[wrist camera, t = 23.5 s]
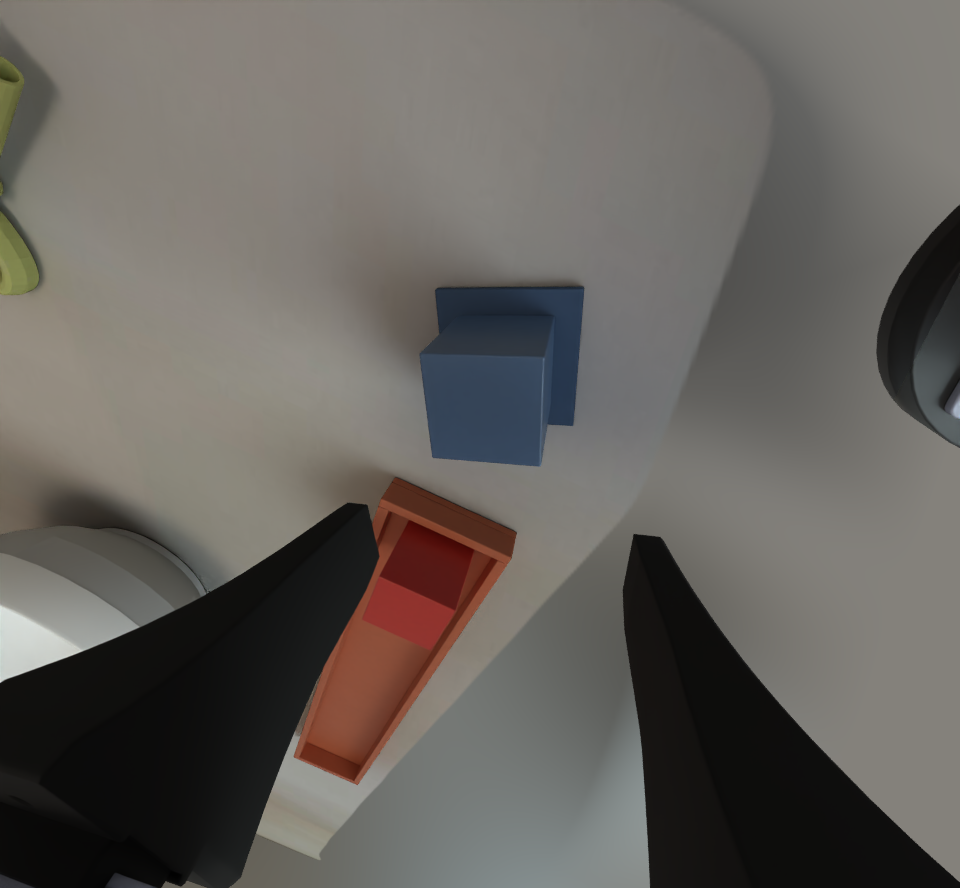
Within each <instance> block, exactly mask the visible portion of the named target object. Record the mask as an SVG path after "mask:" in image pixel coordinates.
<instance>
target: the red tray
mask: <svg viewBox="0 0 960 888" xmlns="http://www.w3.org/2000/svg"><path fill="white" fill-rule="evenodd" d="M409 520H411V521H413V522H415V523H418V524H420V525H422V526H424V527H426V528H429V529H431V530H433V531H435V532H437V533H440V534H442V535H444V536H446V537H448V538H450V539H453V540H455V541H457V542H459V543H461V544H464V545H466V546H468V547H470V548H472V549H475V550H474V554H473V557H472V560H471V563H470V567H469V570H468V573H467V576H466V580H465V583H464V586H463V589H462V593H461V596H460V599H459V602H458V606H457V609H456V611H455V613H454V615H453V616H452V618H451V619H450V621H449V623H448V624H447V626H446V627H445V629H444V631H443V632H442V634H441V635H440V637H439V639H438V640H437V642H436V643H435V645H434V646H433V648H432V650H428V649H426V648H424V647H421V646H419V645H417V644H415V643H412V642H410V641H408V640H406V639H404V638H401V637H399V636H397V635H395V634H392V633H390V632H388V631H386V630H383V629H381V628H379V627H377V626H374V625H372V624H370V623H368V622H366V621H363V620H362V617H363V615H364V612H365V610H366V607H367V605H368V602H369V600H370V597H371V595H372V592H373V590H374V587H375V585H376V582H377V579H378V577H379V575H380V573H381V571H382V569H383V567H384V566H385V564H386V562H387V560H388V558H389V556H390V554H391V553H392V551H393V549H394V547H395V545H396V543H397V541H398V540H399V538H400V536H401V534H402V532H403V530H404V528H405V527H406V525H407V523H408V521H409ZM372 526H373V531H374V535H375V539H376V543H377V547H378V551H379V556H380V557H379V560H378V562H377V565H376V568H375V570H374V573H373V575H372V578H371V580H370V583H369V585H368V587H367V590H366V592H365V593H364V595H363V597H362V599H361V601H360V603H359V604H358V606H357V608H356V610H355V612H354V614H353V615H352V617H351V619H350V621H349V623H348V624H347V626H346V628H345V630H344V631H343V633H342V635H341V637H340V639H339V640H338V642H337V644H336V646H335V648H334V649H333V651H332V653H331V655H330V656H329V658H328V660H327V662H326V664H325V666H324V668H323V671H322V674H321V677H320V680H319V683H318V686H317V689H316V692H315V695H314V698H313V701H312V704H311V707H310V710H309V713H308V716H307V719H306V721H305V724H304V727H303V730H302V733H301V736H300V739H299V742H298V745H297V748H296V751H295V754H294V758H297V759H299V760H301V761H304V762H306V763H308V764H311V765H313V766H315V767H317V768H320V769H322V770H324V771H327V772H329V773H331V774H333V775H336V776H338V777H340V778H343V779H345V780H347V781H349V782H352V783H354V784H356V785H358V784H359V782H360V781H361V779H362V778H363V776H364V775H365V774H366V772H367V771H368V769H369V768H370V766H371V765H372V763H373V762H374V760H375V759H376V757H377V756H378V754H379V753H380V751H381V750H382V748H383V747H384V746H385V744H386V743H387V741H388V740H389V738H390V737H391V735H392V734H393V732H394V731H395V729H396V728H397V726H398V725H399V723H400V722H401V720H402V719H403V718H404V716H405V715H406V713H407V712H408V710H409V709H410V707H411V706H412V704H413V703H414V701H415V700H416V698H417V697H418V695H419V694H420V692H421V691H422V690H423V688H424V687H425V685H426V684H427V682H428V681H429V679H430V678H431V676H432V675H433V673H434V672H435V670H436V669H437V667H438V666H439V665H440V663H441V662H442V660H443V659H444V657H445V656H446V654H447V653H448V651H449V650H450V648H451V647H452V645H453V644H454V642H455V641H456V639H457V638H458V637H459V635H460V634H461V632H462V631H463V629H464V628H465V626H466V625H467V623H468V622H469V620H470V619H471V617H472V616H473V614H474V613H475V611H476V610H477V609H478V607H479V606H480V604H481V603H482V601H483V600H484V598H485V597H486V595H487V594H488V592H489V591H490V589H491V588H492V586H493V585H494V583H495V582H496V581H497V579H498V578H499V576H500V575H501V573H502V572H503V570H504V569H505V567H506V566H507V564H508V563H509V561H510V560H511V558H512V554H513V549H514V544H515V539H516V534H517V533H516V532H514V531H512V530H510V529H508V528H505V527H503V526H501V525H499V524H497V523H494V522H492V521H490V520H488V519H486V518H484V517H481V516H479V515H477V514H475V513H473V512H470V511H468V510H466V509H464V508H462V507H460V506H457V505H455V504H453V503H451V502H449V501H446V500H444V499H442V498H440V497H438V496H436V495H433V494H431V493H429V492H427V491H425V490H422V489H420V488H418V487H416V486H414V485H412V484H409V483H407V482H405V481H403V480H401V479H398V478H394V480H393V481H392V483H391V485H390V486H389V488H388V489H387V491H386V492H385V494H384V495H383V497H382V498H381V500H380V503H379V506H378V509H377V512H376V515H375V518H374V521H373V524H372Z"/></svg>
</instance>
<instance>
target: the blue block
mask: <svg viewBox="0 0 960 888" xmlns="http://www.w3.org/2000/svg"><path fill="white" fill-rule="evenodd" d="M554 324H555V317H554V316H526V315H459V316H458V317H457V318H456V319H455V320H454V321H453V322H452V323H451V324H450V325H448V326H447V327H446V328H445V329H444V330H443V331H442V332H441V333H440V334H439V335H438V336H437V337H436V338H435V339H434V340H433V341H432V342H431V343H430V344H429V345H428V346H427V347H426V348H425V349H424V350H423V351H422V352H421V353H420V363H421V371H422V379H423V387H424V395H425V403H426V411H427V419H428V427H429V434H430V442H431V450H432V457H433V458H442V459H454V460H466V461H478V462H491V463H503V464H515V465H527V466H541V462H542V456H543V450H544V444H545V437H546V431H547V425H548V419H549V412H550V406H551V388H552V367H553V346H554Z"/></svg>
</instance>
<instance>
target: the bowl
mask: <svg viewBox="0 0 960 888" xmlns="http://www.w3.org/2000/svg"><path fill="white" fill-rule="evenodd" d="M204 595H206V592H205V590H204V588H203V586H202V584H201V583H200V581H199V580H198V578H197V577H196V576H195V574H194V573H193V572H192V571H191V570H190V569H189V568H188V567H187V566H186V565H185V564H184V563H183V562H182V561H181V560H180V559H179V558H177V557H176V556H175V555H174V554H172V553H171V552H169V551H168V550H167V549H165V548H164V547H162V546H160V545H159V544H157V543H155V542H154V541H152V540H150V539H148V538H146V537H143V536H141V535H139V534H136V533H133V532H130V531H127V530H123V529H118V528H103V529H98V530H96V529H90V528H84V527H79V526H54V527H45V528H37V529H29V530H20V531H14V532H9V533H5V534H2V535H0V683H1V682H2V681H4V680H5V679H8V678H11V677H14V676H17V675H20V674H22V673H25V672H28V671H31V670H33V669H36V668H39V667H42V666H44V665H47V664H50V663H53V662H55V661H58V660H61V659H63V658H66V657H69V656H72V655H74V654H77V653H79V652H82V651H84V650H87V649H89V648H92V647H94V646H97V645H99V644H102V643H104V642H106V641H109V640H111V639H114V638H116V637H118V636H121V635H123V634H125V633H128V632H130V631H132V630H134V629H137V628H139V627H141V626H143V625H146V624H148V623H150V622H152V621H154V620H156V619H158V618H160V617H162V616H164V615H166V614H168V613H170V612H172V611H174V610H176V609H179V608H181V607H183V606H185V605H187V604H189V603H191V602H193V601H195V600H197V599H198V598H200V597H202V596H204Z"/></svg>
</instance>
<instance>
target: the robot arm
mask: <svg viewBox="0 0 960 888" xmlns="http://www.w3.org/2000/svg"><path fill="white" fill-rule="evenodd" d="M945 411H946V412H947V413H948V414H949V415H951V416H953V417H954V418H958V419H960V380H959V382H958V384H957V385H956V387H955V389H954V391H953V392H952V394H951V396H950V397H949V399H948V401H947V402H946V405H945ZM379 557H380V556H379V551H378V547H377V543H376V539H375V535H374V531H373V526H372V522H371V518H370V514H369V510H368V505H366V504H356V503H347V504H345V505H343V506H342V507H340V508H339V509H337V510H336V511H334V512H333V513H331V514H330V515H329V516H327V517H326V518H324V519H323V520H321V521H320V522H319V523H317V524H316V525H314V526H313V527H312V528H310V529H309V530H307V531H306V532H304V533H303V534H302V535H300V536H299V537H297V538H296V539H294V540H293V541H291V542H290V543H289V544H287V545H286V546H284V547H283V548H281V549H280V550H278V551H277V552H275V553H274V554H272V555H271V556H269V557H267V558H266V559H264V560H263V561H261V562H260V563H258V564H257V565H255V566H253V567H252V568H250V569H249V570H247V571H246V572H244V573H242V574H241V575H239V576H237V577H236V578H234V579H232V580H231V581H229V582H227V583H226V584H224V585H222V586H220V587H218V588H217V589H215V590H213V591H211V592H209V593H208V594H206V595H204V596H202V597H200V598H198V599H197V600H195V601H193V602H191V603H189V604H187V605H185V606H183V607H181V608H179V609H176V610H174V611H172V612H170V613H168V614H166V615H164V616H162V617H160V618H158V619H156V620H154V621H152V622H150V623H148V624H146V625H143V626H141V627H139V628H137V629H134V630H132V631H130V632H128V633H125V634H123V635H121V636H118V637H116V638H114V639H111V640H109V641H106V642H104V643H102V644H99V645H97V646H94V647H92V648H89V649H87V650H84V651H82V652H79V653H77V654H74V655H72V656H69V657H66V658H63V659H61V660H58V661H55V662H53V663H50V664H47V665H44V666H42V667H39V668H36V669H33V670H31V671H28V672H25V673H22V674H20V675H17V676H14V677H11V678H8V679H5V680H4V681H2V682H1V683H0V888H161V887H162V886H163V884H164V883H165V881H167V882H169V883H172V884H175V885H178V886H182V885H183V884H185V882H186V881H190V882H193V883H196V884H199V885H201V886H204V887H207V888H229V887H230V886H232V885H233V884H234V883H235V882H236V881H237V880H238V879H239V878H240V877H241V875H242V872H243V869H244V866H245V863H246V860H247V857H248V854H249V851H250V849H251V846H252V843H253V840H254V837H255V834H256V831H257V829H258V826H259V823H260V820H261V817H262V814H263V811H264V809H265V806H266V803H267V801H268V798H269V795H270V793H271V790H272V787H273V785H274V782H275V780H276V777H277V774H278V772H279V769H280V767H281V764H282V761H283V759H284V756H285V754H286V751H287V749H288V747H289V744H290V742H291V739H292V737H293V735H294V732H295V730H296V727H297V725H298V722H299V720H300V718H301V715H302V713H303V711H304V709H305V706H306V704H307V702H308V700H309V697H310V695H311V693H312V691H313V688H314V686H315V684H316V681H317V679H318V677H319V675H320V673H321V672H322V670H323V668H324V666H325V664H326V662H327V660H328V658H329V656H330V655H331V653H332V651H333V649H334V648H335V646H336V644H337V642H338V640H339V639H340V637H341V635H342V633H343V631H344V630H345V628H346V626H347V624H348V623H349V621H350V619H351V617H352V615H353V614H354V612H355V610H356V608H357V606H358V604H359V603H360V601H361V599H362V597H363V595H364V593H365V592H366V590H367V587H368V585H369V583H370V580H371V578H372V575H373V573H374V570H375V568H376V565H377V562H378V560H379ZM623 608H624V627H625V628H624V630H625V636H626V643H627V650H628V656H629V663H630V669H631V676H632V682H633V688H634V695H635V701H636V707H637V714H638V720H639V727H640V736H641V745H642V755H643V770H644V785H645V801H646V817H647V835H648V851H649V873H650V888H960V882H959V881H957V880H956V879H955V878H954V877H953V876H952V875H951V874H950V873H949V872H947V871H946V870H945V869H944V868H943V867H942V866H941V865H940V864H939V863H937V862H936V861H935V860H934V859H933V858H932V857H931V856H930V855H928V854H927V853H926V852H925V851H924V850H923V849H922V848H921V847H920V846H918V844H917V843H915V842H914V841H913V840H912V839H911V838H910V837H909V836H908V835H907V834H906V833H905V832H904V831H903V830H902V829H901V828H900V827H898V825H896V824H895V823H894V822H893V821H892V820H891V819H890V818H889V817H888V816H887V815H886V814H885V813H884V812H883V811H882V810H881V809H880V808H879V807H877V805H876V804H874V802H872V801H871V800H870V799H869V798H868V797H867V796H866V794H865V793H864V792H863V791H862V790H861V789H860V788H859V787H858V786H857V785H856V784H855V783H854V782H853V781H852V780H851V779H850V778H849V777H848V776H847V775H846V774H845V773H844V772H843V771H842V770H841V769H840V768H839V767H838V766H837V765H836V764H835V763H834V762H833V761H832V760H831V759H830V758H829V757H828V756H827V754H826V753H824V751H823V750H821V748H820V747H819V746H818V745H817V744H816V743H815V742H814V741H813V740H812V739H811V738H810V737H809V736H808V735H807V734H806V733H805V731H804V730H803V729H802V728H801V727H800V726H799V725H798V724H797V723H796V721H795V720H794V719H793V718H792V717H791V716H790V715H789V714H788V713H787V711H786V710H785V709H784V708H783V707H782V706H781V705H780V704H779V702H778V701H777V700H776V699H775V698H774V697H773V695H772V694H771V693H770V692H769V691H768V690H767V688H766V687H765V686H764V685H763V684H762V683H761V681H760V680H759V679H758V678H757V677H756V675H755V674H754V673H753V672H752V671H751V669H750V668H749V667H748V665H747V664H746V663H745V662H744V660H743V659H742V658H741V657H740V655H739V654H738V653H737V651H736V650H735V649H734V647H733V646H732V645H731V643H730V642H729V641H728V639H727V638H726V637H725V636H724V634H723V633H722V631H721V630H720V628H719V627H718V626H717V624H716V623H715V622H714V620H713V619H712V617H711V616H710V614H709V613H708V611H707V610H706V608H705V607H704V606H703V604H702V603H701V601H700V600H699V598H698V597H697V595H696V594H695V592H694V591H693V589H692V588H691V586H690V584H689V583H688V581H687V580H686V578H685V577H684V575H683V573H682V572H681V570H680V568H679V567H678V565H677V563H676V562H675V560H674V558H673V557H672V555H671V553H670V551H669V550H668V548H667V546H666V544H665V542H664V541H663V540H662V539H661V537H655V536H647V535H637V534H634V535H633V541H632V546H631V551H630V556H629V561H628V566H627V571H626V576H625V581H624V586H623Z"/></svg>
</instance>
